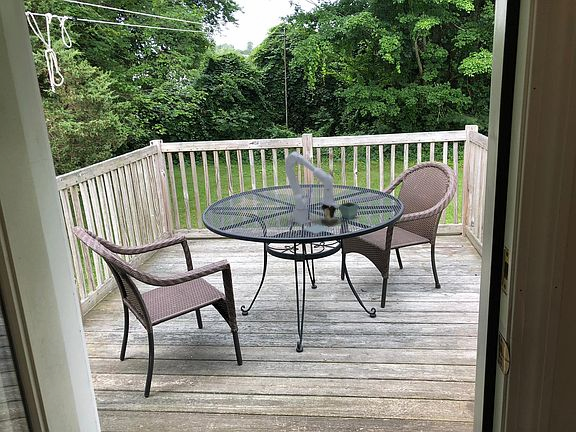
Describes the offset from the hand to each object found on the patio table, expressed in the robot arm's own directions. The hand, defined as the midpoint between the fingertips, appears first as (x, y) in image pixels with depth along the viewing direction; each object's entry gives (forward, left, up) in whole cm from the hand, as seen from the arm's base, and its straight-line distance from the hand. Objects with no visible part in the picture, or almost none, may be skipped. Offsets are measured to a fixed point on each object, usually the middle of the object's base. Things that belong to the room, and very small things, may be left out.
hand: (329, 217), depth 284 cm
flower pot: (+3, +14, -4) cm, 15 cm away
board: (+5, -15, -3) cm, 16 cm away
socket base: (0, 0, -3) cm, 3 cm away
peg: (0, 0, -3) cm, 3 cm away
